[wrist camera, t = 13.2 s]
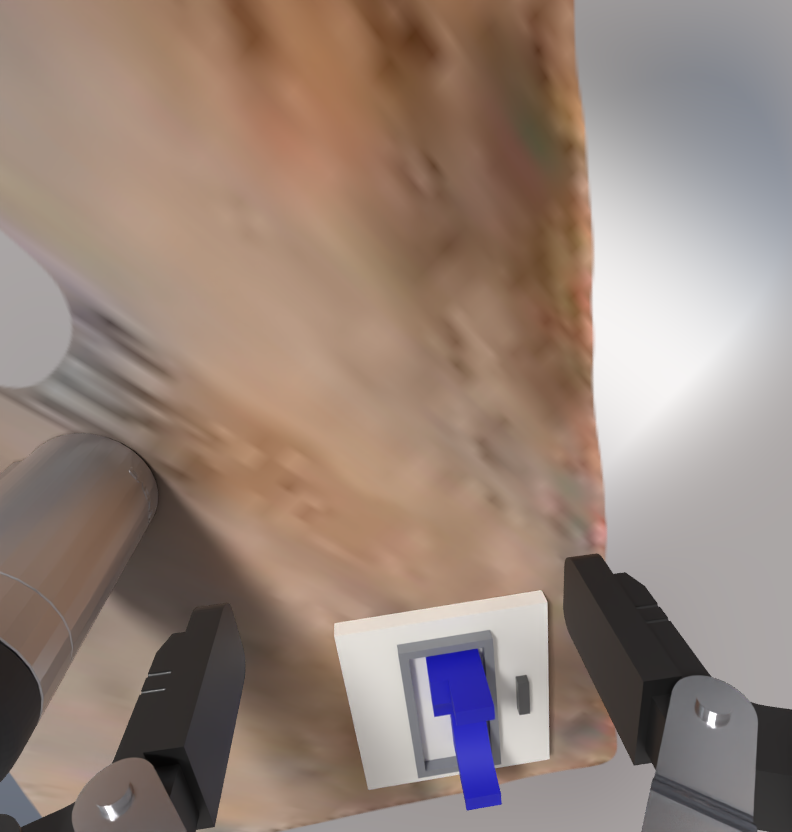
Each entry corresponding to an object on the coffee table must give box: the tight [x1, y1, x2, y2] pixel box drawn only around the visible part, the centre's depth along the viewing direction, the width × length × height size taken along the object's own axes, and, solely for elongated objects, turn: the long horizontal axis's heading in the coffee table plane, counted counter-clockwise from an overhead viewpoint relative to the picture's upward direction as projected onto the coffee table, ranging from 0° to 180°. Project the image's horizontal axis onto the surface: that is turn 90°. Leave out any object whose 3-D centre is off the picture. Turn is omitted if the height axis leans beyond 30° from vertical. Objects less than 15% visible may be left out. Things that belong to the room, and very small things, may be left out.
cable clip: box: [426, 648, 502, 810], centre depth 47 cm, size 12×4×6 cm, turn 7°
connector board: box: [334, 590, 549, 790], centre depth 50 cm, size 18×20×2 cm
